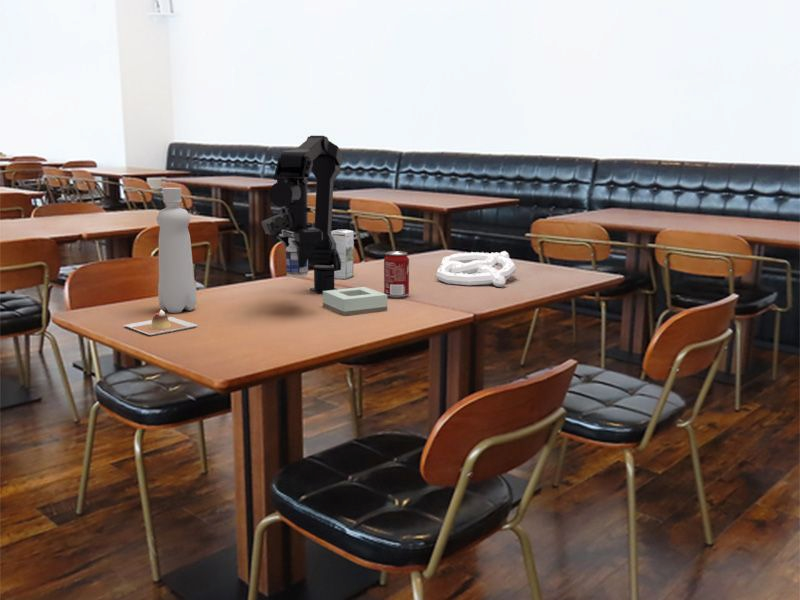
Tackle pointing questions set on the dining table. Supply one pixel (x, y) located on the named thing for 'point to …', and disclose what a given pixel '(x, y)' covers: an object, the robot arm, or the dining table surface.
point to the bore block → (354, 300)
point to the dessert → (161, 323)
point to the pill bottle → (294, 261)
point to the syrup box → (344, 252)
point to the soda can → (396, 274)
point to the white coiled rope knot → (476, 268)
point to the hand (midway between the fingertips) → (297, 265)
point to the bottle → (175, 256)
